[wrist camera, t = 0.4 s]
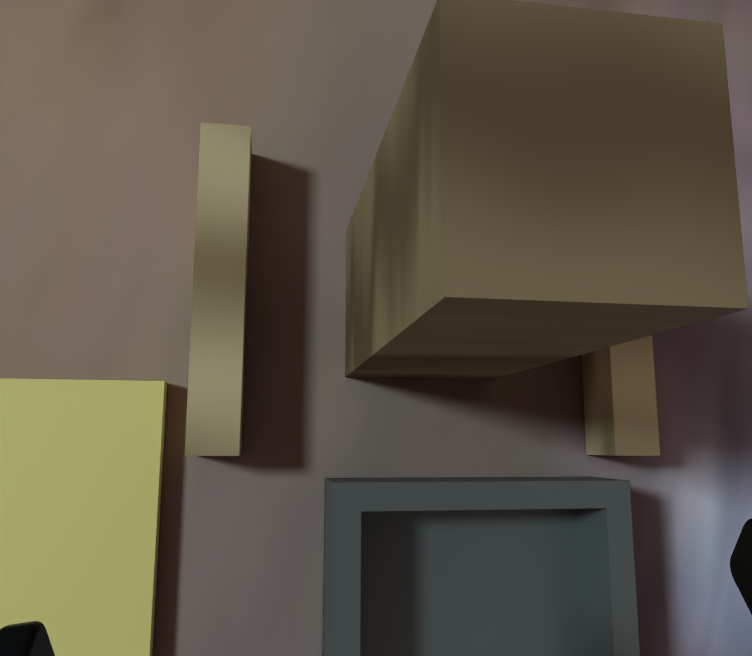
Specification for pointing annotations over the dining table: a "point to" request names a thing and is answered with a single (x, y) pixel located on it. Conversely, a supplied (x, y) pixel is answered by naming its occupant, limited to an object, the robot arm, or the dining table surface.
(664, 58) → the walnut block
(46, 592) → the pad
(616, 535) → the charcoal tray
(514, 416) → the dining table surface
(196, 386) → the brown lane walls
